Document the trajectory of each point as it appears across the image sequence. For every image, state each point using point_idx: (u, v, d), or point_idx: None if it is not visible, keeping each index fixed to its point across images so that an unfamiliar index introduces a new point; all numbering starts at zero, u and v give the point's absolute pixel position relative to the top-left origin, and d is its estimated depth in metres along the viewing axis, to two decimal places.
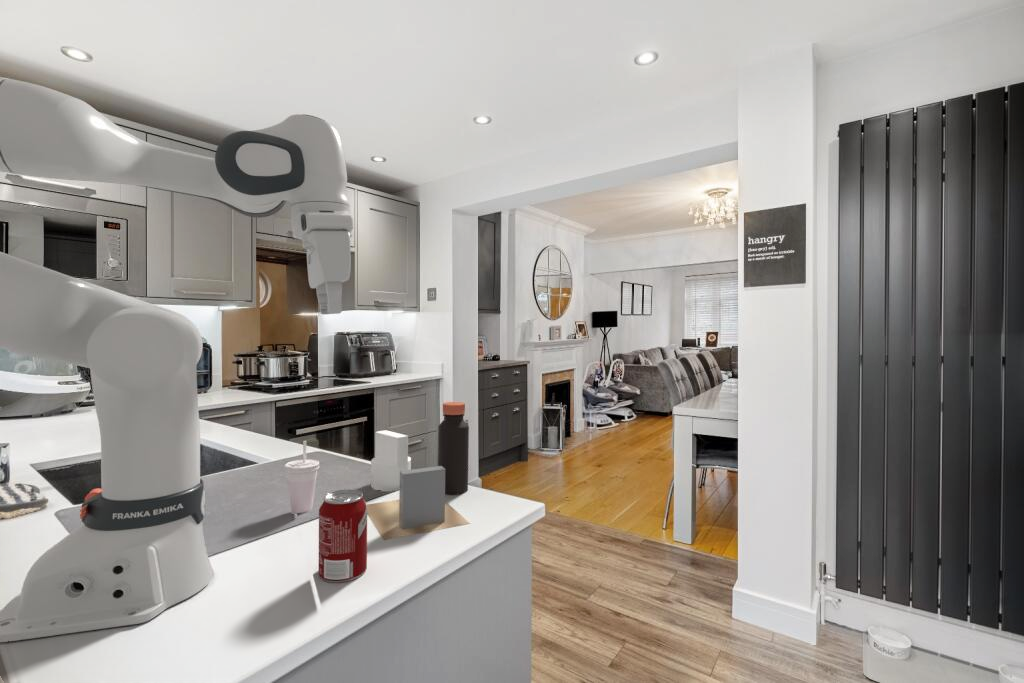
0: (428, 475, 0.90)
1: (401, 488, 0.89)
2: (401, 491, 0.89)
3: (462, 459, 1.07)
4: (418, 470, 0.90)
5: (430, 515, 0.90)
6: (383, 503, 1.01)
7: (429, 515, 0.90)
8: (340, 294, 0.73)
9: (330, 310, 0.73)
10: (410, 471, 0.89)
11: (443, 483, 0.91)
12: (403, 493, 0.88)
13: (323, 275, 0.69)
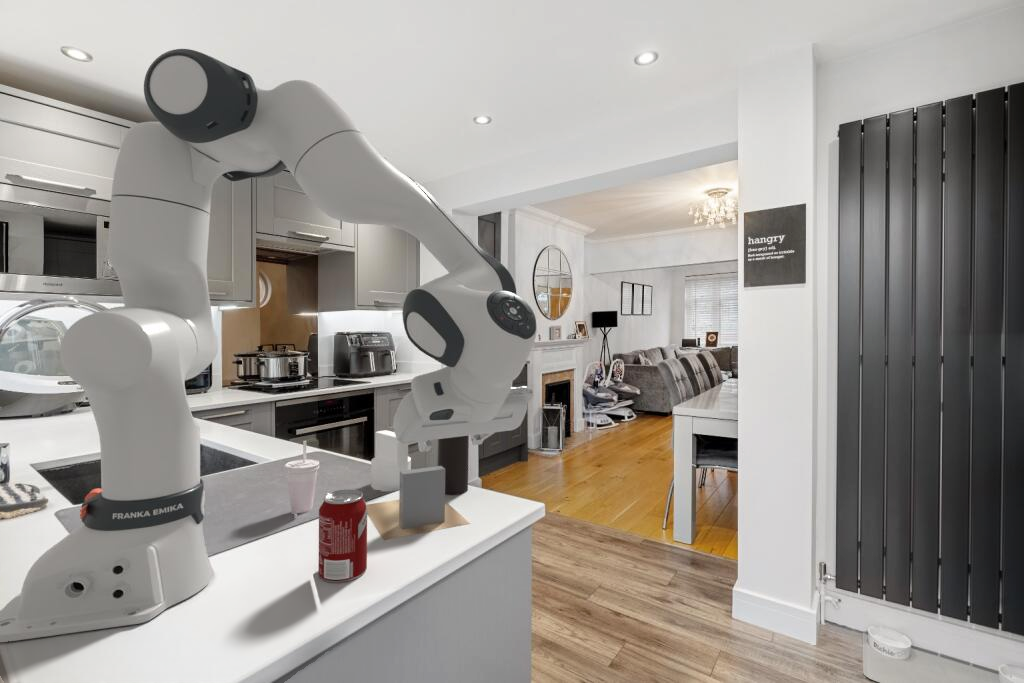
0: (428, 475, 0.90)
1: (401, 488, 0.89)
2: (401, 491, 0.89)
3: (462, 459, 1.07)
4: (418, 470, 0.90)
5: (430, 515, 0.90)
6: (383, 503, 1.01)
7: (429, 515, 0.90)
8: None
9: (418, 442, 0.76)
10: (410, 471, 0.89)
11: (443, 483, 0.91)
12: (403, 493, 0.88)
13: None
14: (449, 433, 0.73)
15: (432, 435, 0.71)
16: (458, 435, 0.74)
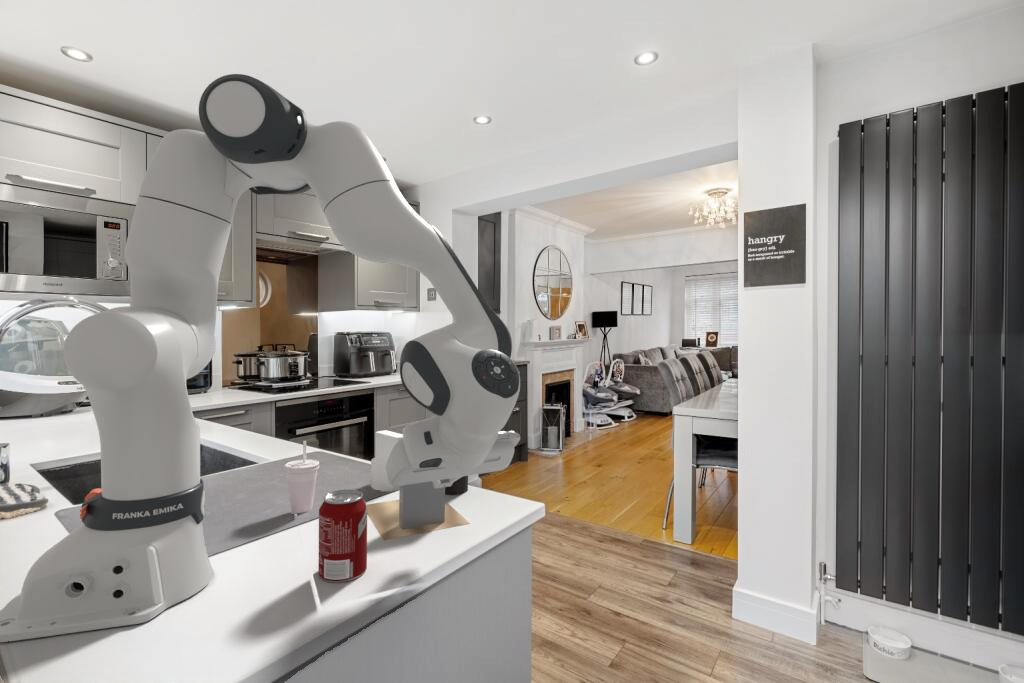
0: None
1: (401, 488, 0.89)
2: (401, 491, 0.89)
3: None
4: None
5: (430, 515, 0.90)
6: (383, 503, 1.01)
7: (429, 515, 0.90)
8: (434, 481, 0.79)
9: None
10: None
11: None
12: (403, 493, 0.88)
13: None
14: (439, 476, 0.76)
15: (423, 478, 0.75)
16: (448, 477, 0.78)
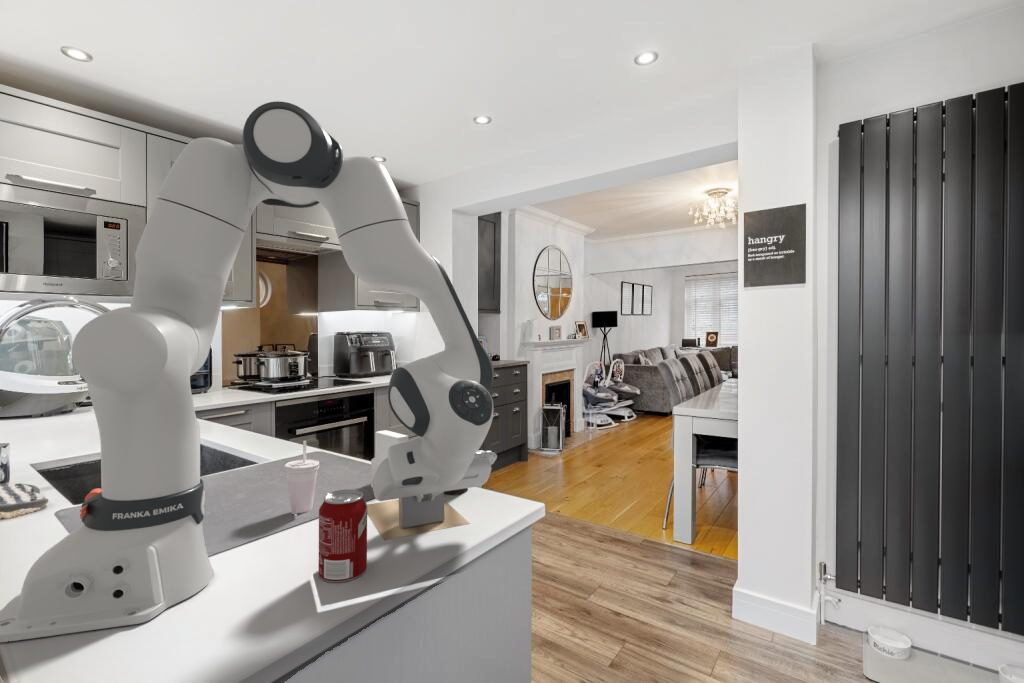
0: None
1: None
2: None
3: None
4: None
5: (430, 513, 0.91)
6: (383, 503, 1.01)
7: (429, 513, 0.90)
8: (417, 495, 0.86)
9: None
10: None
11: None
12: None
13: None
14: (421, 491, 0.83)
15: (406, 494, 0.82)
16: (430, 492, 0.85)
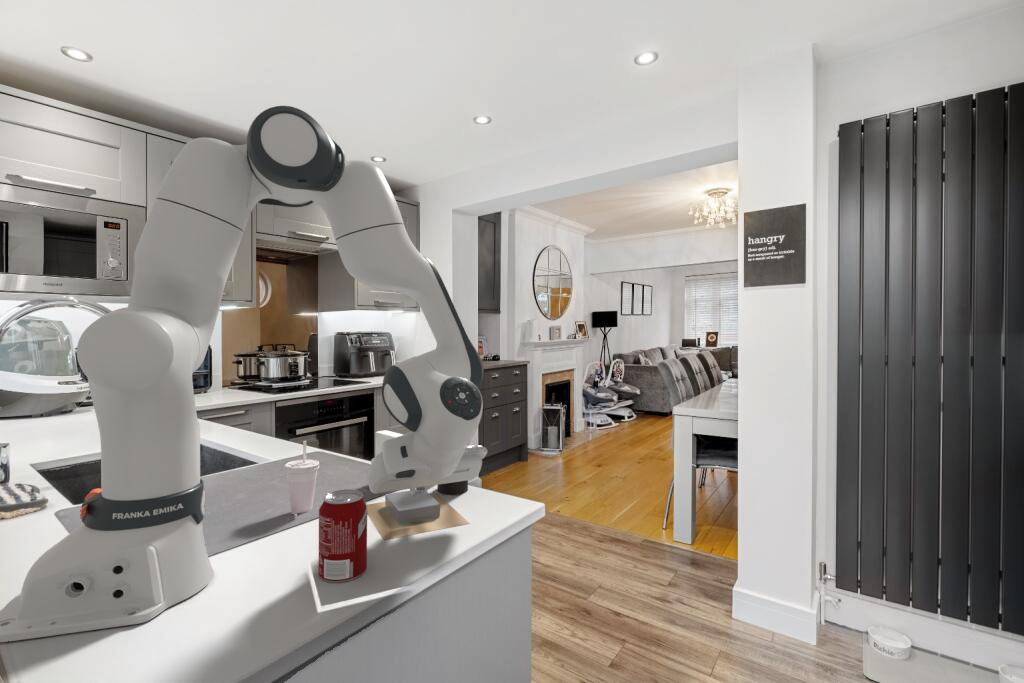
0: (409, 492, 1.00)
1: (388, 503, 0.96)
2: (389, 504, 0.96)
3: None
4: None
5: (423, 503, 0.94)
6: (383, 503, 1.01)
7: (422, 503, 0.94)
8: (410, 488, 0.90)
9: None
10: None
11: None
12: (390, 500, 0.96)
13: None
14: (414, 484, 0.87)
15: (400, 487, 0.86)
16: (423, 485, 0.88)
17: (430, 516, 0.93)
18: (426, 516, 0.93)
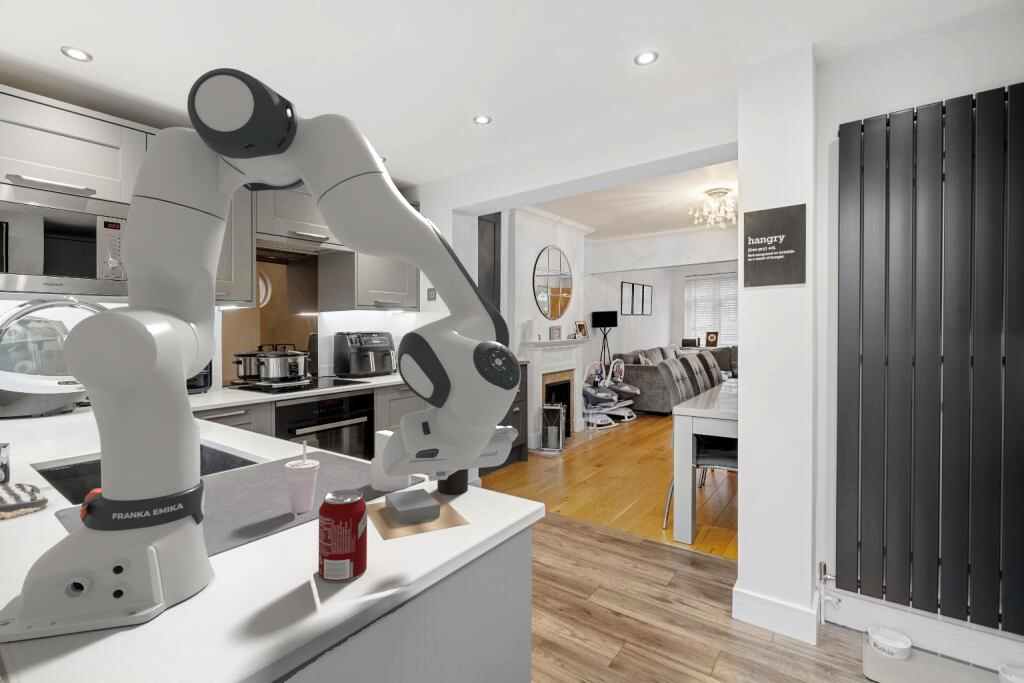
0: (409, 492, 1.00)
1: (388, 503, 0.96)
2: (389, 504, 0.96)
3: None
4: None
5: (423, 503, 0.94)
6: (383, 503, 1.01)
7: (422, 503, 0.94)
8: (429, 473, 0.79)
9: None
10: None
11: (426, 492, 1.00)
12: (390, 500, 0.96)
13: None
14: (435, 468, 0.76)
15: (418, 470, 0.75)
16: (444, 470, 0.77)
17: (430, 516, 0.93)
18: (426, 516, 0.93)
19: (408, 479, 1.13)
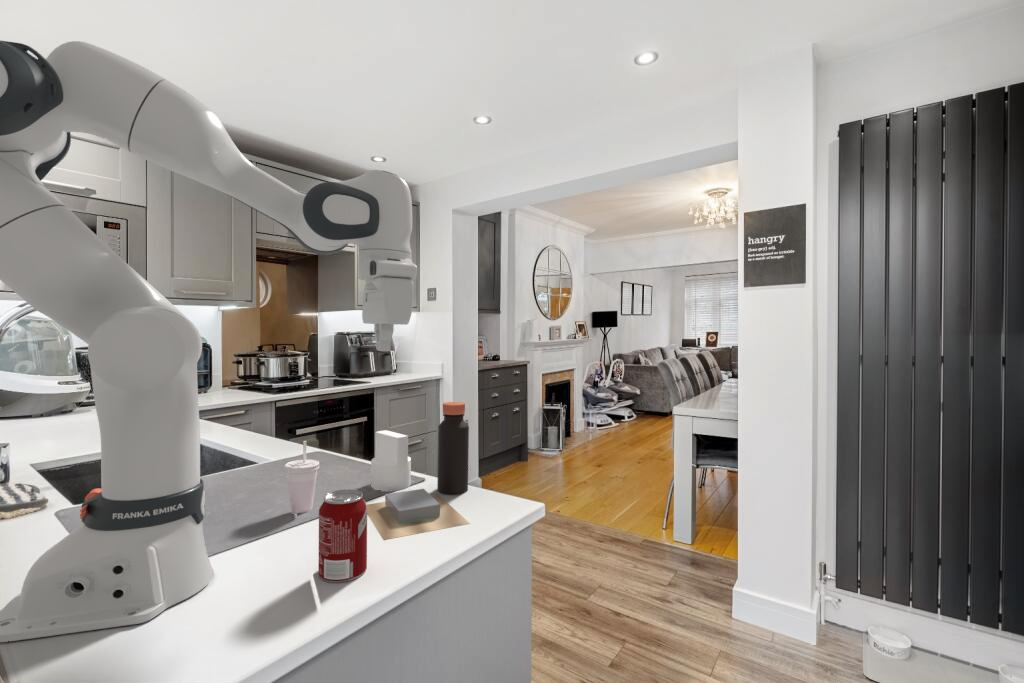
0: (409, 492, 1.00)
1: (388, 503, 0.96)
2: (389, 504, 0.96)
3: (462, 459, 1.07)
4: None
5: (423, 503, 0.94)
6: (383, 503, 1.01)
7: (422, 503, 0.94)
8: (391, 335, 0.83)
9: (380, 348, 0.83)
10: None
11: (426, 492, 1.00)
12: (390, 500, 0.96)
13: (386, 318, 0.75)
14: None
15: None
16: None
17: (430, 516, 0.93)
18: (426, 516, 0.93)
19: (408, 479, 1.13)
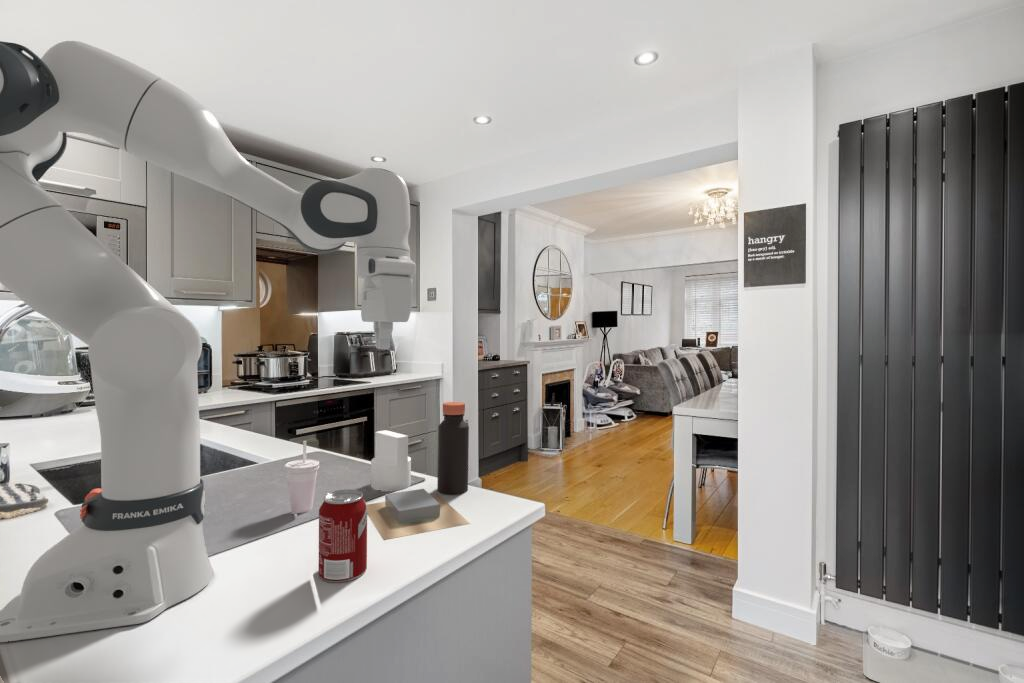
0: (409, 492, 1.00)
1: (388, 503, 0.96)
2: (389, 504, 0.96)
3: (462, 459, 1.07)
4: None
5: (423, 503, 0.94)
6: (383, 503, 1.01)
7: (422, 503, 0.94)
8: (390, 332, 0.83)
9: (380, 346, 0.83)
10: None
11: (426, 492, 1.00)
12: (390, 500, 0.96)
13: (386, 316, 0.75)
14: None
15: None
16: None
17: (430, 516, 0.93)
18: (426, 516, 0.93)
19: (408, 479, 1.13)
